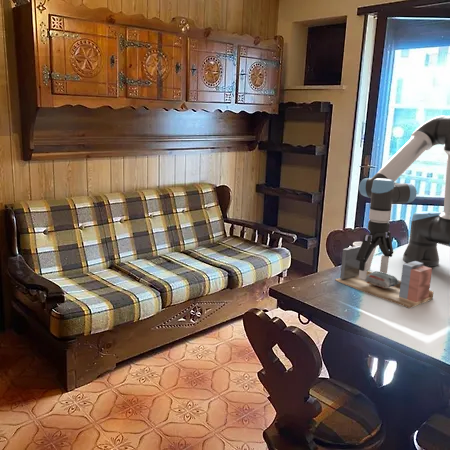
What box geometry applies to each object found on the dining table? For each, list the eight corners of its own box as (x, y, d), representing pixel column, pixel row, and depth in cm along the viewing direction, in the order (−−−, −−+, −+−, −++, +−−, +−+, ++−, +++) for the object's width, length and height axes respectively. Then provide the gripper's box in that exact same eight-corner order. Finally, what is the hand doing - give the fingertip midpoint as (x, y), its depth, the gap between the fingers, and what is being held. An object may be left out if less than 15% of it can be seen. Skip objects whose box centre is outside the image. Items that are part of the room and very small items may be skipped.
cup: (375, 273, 197) (378, 248, 194) (351, 271, 198) (353, 246, 196) (372, 267, 206) (375, 242, 204) (349, 265, 208) (351, 240, 205)
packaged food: (387, 293, 171) (389, 280, 170) (359, 283, 179) (361, 271, 178) (399, 288, 177) (401, 276, 176) (371, 279, 185) (373, 267, 184)
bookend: (355, 274, 191) (358, 245, 188) (359, 275, 190) (362, 246, 187) (340, 278, 185) (343, 249, 182) (343, 279, 184) (346, 250, 181)
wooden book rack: (358, 275, 194) (361, 244, 191) (432, 299, 170) (437, 264, 167) (335, 281, 185) (337, 249, 182) (409, 308, 161) (414, 271, 158)
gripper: (389, 215, 185) (383, 267, 190) (349, 222, 170) (344, 278, 174) (406, 219, 179) (400, 272, 184) (367, 226, 164) (361, 284, 169)
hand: (373, 275), depth 179 cm, fingers open, 13 cm apart
